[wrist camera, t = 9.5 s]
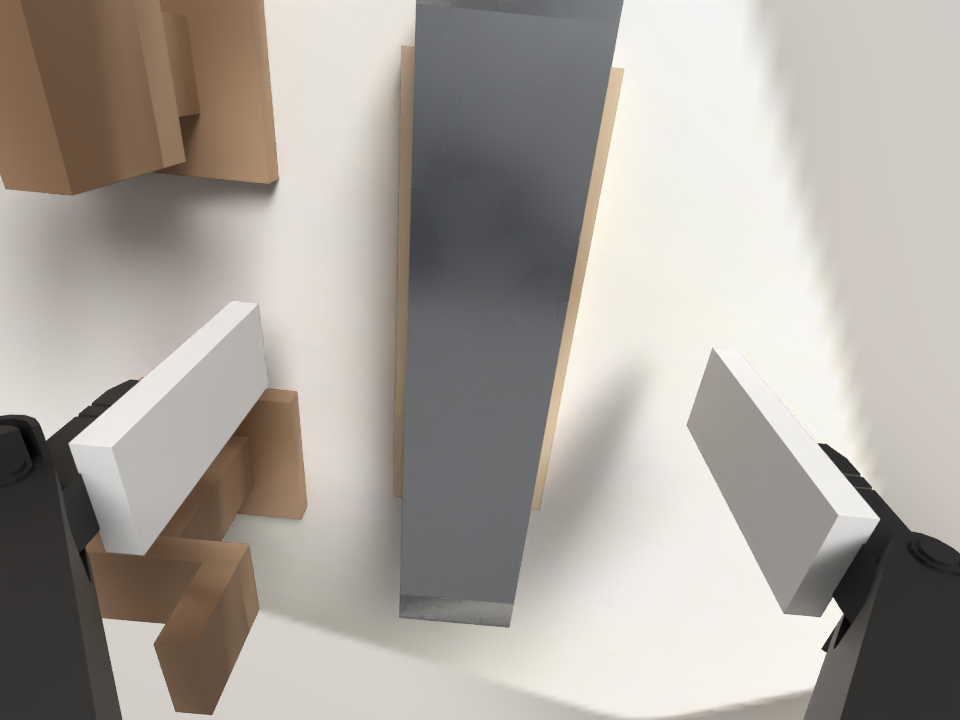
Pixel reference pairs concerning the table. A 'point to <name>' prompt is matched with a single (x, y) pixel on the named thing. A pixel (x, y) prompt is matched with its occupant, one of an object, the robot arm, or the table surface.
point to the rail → (490, 279)
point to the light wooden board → (403, 264)
